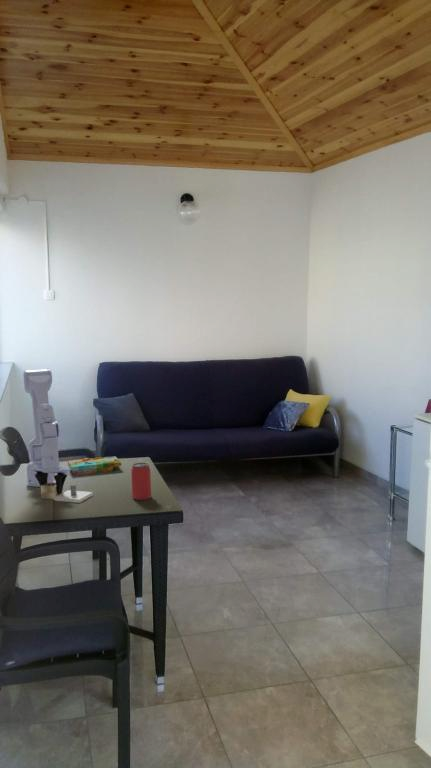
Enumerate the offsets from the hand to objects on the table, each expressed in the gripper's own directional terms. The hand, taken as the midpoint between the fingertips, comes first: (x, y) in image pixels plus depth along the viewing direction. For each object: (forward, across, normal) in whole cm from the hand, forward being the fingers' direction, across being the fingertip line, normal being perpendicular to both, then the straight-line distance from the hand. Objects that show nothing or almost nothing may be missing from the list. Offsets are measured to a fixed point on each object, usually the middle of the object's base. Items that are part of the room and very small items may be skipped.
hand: (52, 492), depth 239 cm
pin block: (+1, +8, 0) cm, 9 cm away
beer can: (+2, +32, +7) cm, 33 cm away
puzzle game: (+2, -4, +37) cm, 37 cm away
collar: (+1, 0, 0) cm, 1 cm away
